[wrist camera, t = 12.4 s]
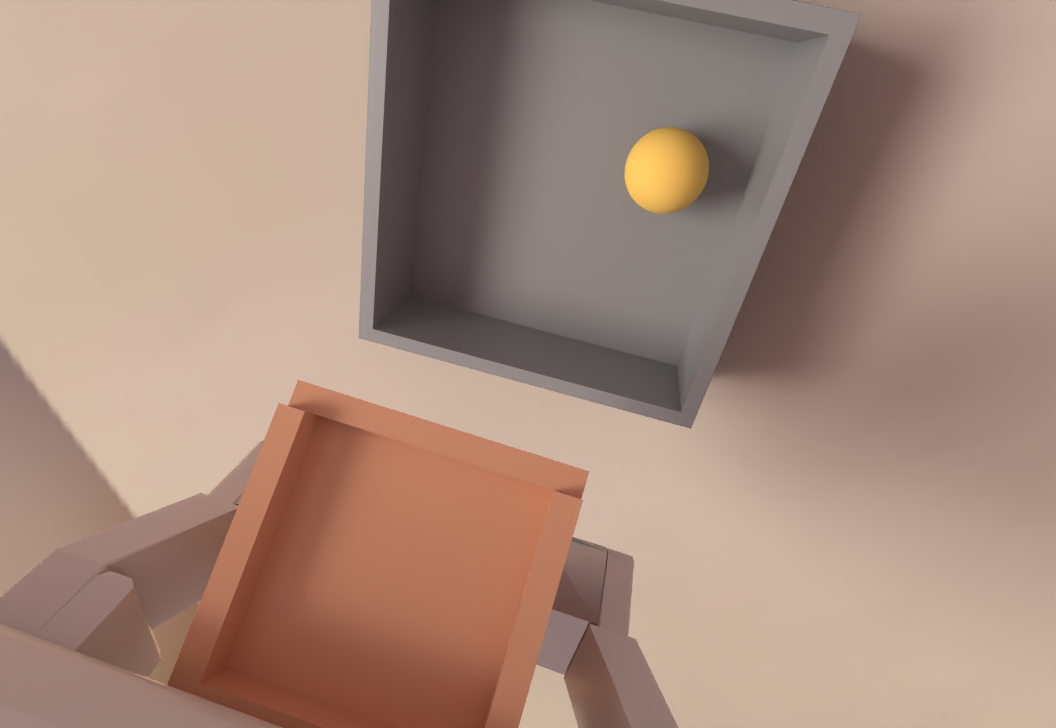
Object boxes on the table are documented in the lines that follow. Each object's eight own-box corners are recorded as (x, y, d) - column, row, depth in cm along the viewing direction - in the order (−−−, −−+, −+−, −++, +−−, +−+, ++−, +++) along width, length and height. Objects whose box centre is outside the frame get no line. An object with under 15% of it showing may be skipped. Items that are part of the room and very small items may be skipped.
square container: (518, 618, 16) (489, 826, 7) (375, 570, 17) (160, 704, 7) (561, 469, 17) (591, 471, 8) (425, 427, 17) (289, 376, 8)
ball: (617, 129, 19) (670, 193, 18) (686, 95, 19) (740, 156, 19) (602, 184, 22) (646, 242, 21) (662, 153, 22) (708, 207, 21)
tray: (818, 27, 19) (861, 14, 15) (685, 374, 26) (690, 428, 22) (430, -51, 20) (374, -82, 16) (402, 299, 27) (358, 338, 23)
